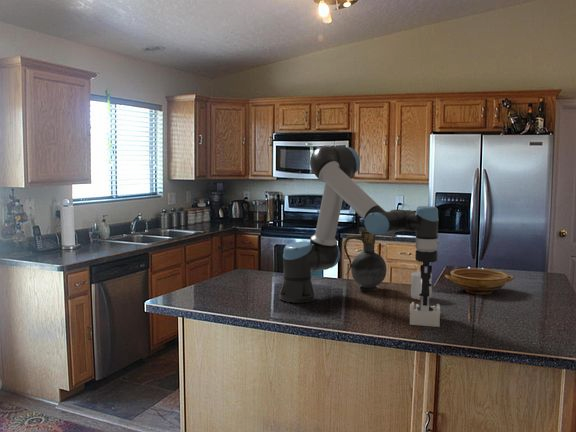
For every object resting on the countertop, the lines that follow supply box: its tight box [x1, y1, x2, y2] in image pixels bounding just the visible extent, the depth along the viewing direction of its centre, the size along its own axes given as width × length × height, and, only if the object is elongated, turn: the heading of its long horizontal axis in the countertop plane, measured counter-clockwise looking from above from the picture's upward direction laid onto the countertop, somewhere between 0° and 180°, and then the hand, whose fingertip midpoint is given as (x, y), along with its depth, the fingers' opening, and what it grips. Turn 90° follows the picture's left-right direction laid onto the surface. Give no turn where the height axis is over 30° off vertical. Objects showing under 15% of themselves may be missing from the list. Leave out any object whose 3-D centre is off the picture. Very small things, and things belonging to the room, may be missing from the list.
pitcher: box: [343, 223, 388, 292], centre depth 233 cm, size 11×19×30 cm, turn 89°
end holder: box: [409, 301, 441, 328], centre depth 186 cm, size 10×12×5 cm
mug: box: [410, 271, 433, 301], centre depth 217 cm, size 12×8×10 cm
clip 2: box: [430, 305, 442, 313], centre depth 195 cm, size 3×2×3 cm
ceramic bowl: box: [444, 267, 515, 295], centre depth 231 cm, size 30×24×8 cm
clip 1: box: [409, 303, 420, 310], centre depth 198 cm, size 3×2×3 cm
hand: (425, 309), depth 188 cm, fingers open, 12 cm apart
